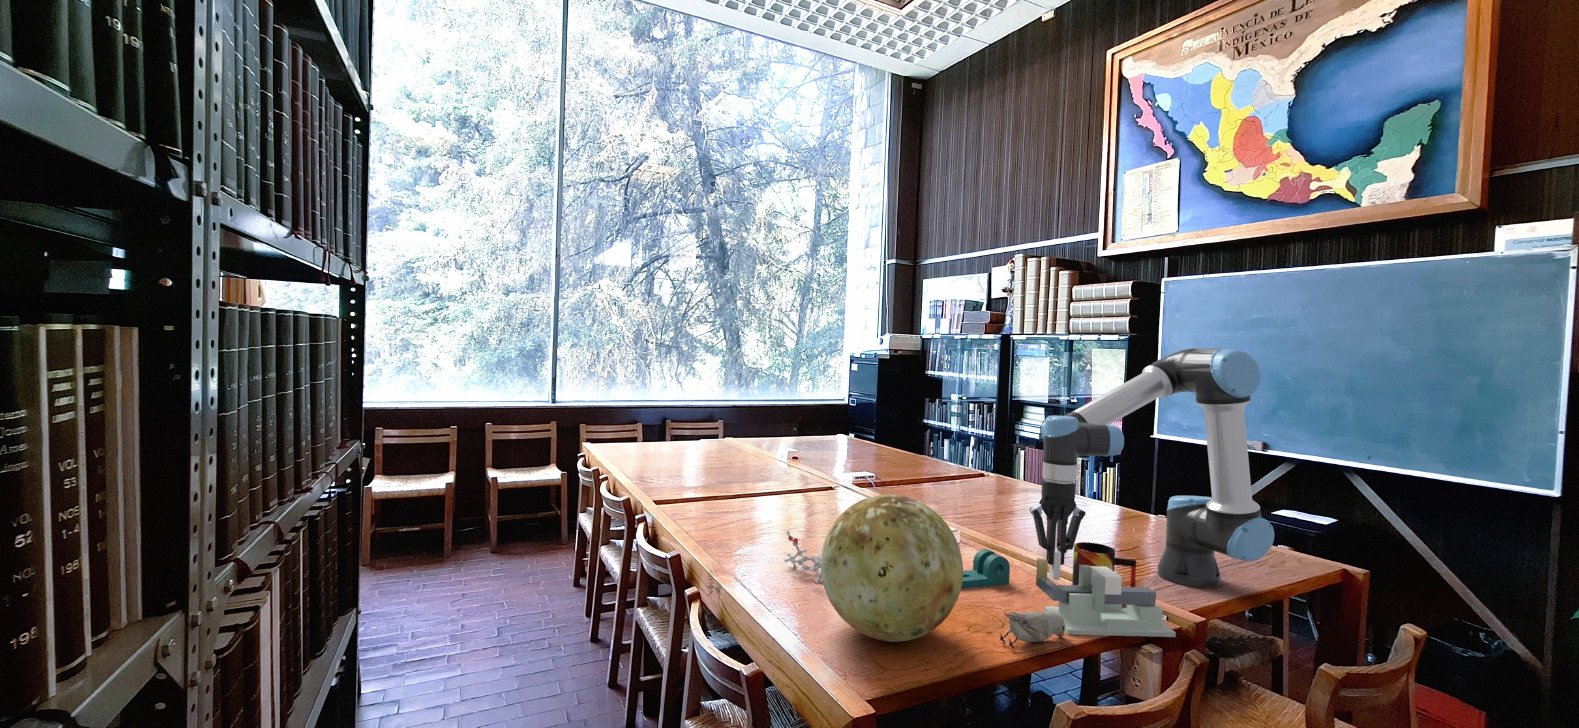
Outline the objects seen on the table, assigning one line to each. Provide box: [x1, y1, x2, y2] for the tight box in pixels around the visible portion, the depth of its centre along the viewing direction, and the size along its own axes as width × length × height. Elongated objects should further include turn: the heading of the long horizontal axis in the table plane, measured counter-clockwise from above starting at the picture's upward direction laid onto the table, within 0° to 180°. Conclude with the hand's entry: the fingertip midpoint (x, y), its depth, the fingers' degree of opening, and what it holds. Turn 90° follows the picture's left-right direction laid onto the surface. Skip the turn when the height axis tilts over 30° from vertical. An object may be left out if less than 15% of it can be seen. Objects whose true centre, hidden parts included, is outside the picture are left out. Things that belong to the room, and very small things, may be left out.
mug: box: [1071, 541, 1137, 587], centre depth 170 cm, size 10×14×12 cm
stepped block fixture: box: [1043, 565, 1177, 638], centre depth 151 cm, size 24×13×12 cm, turn 91°
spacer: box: [1090, 566, 1123, 595], centre depth 151 cm, size 4×7×4 cm, turn 1°
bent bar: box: [1035, 557, 1157, 606], centre depth 155 cm, size 24×10×7 cm, turn 91°
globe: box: [820, 494, 964, 643], centre depth 141 cm, size 30×30×30 cm
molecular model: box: [784, 530, 822, 583], centre depth 177 cm, size 19×10×10 cm, turn 26°
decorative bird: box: [998, 611, 1065, 651], centre depth 140 cm, size 5×16×8 cm, turn 112°
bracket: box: [961, 548, 1011, 590], centre depth 175 cm, size 18×7×8 cm, turn 108°
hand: (1054, 577), depth 159 cm, fingers closed
